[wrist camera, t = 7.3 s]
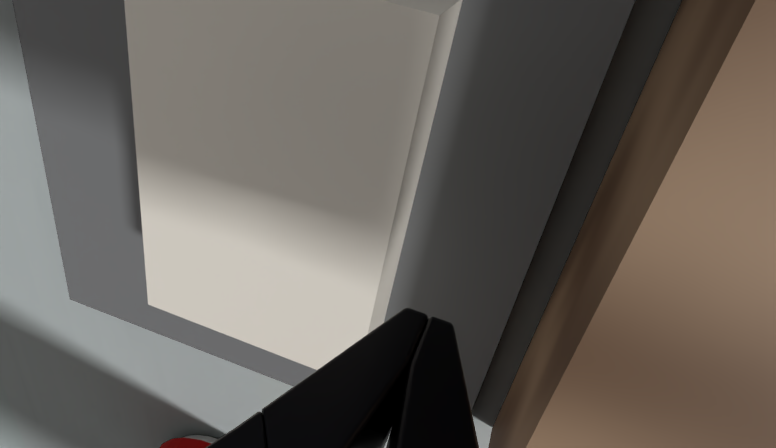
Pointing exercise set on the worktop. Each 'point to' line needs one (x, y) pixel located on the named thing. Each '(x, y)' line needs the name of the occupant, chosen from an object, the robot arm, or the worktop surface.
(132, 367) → the worktop surface
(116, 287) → the mat
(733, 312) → the wooden block
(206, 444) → the soda can
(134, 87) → the white slab
